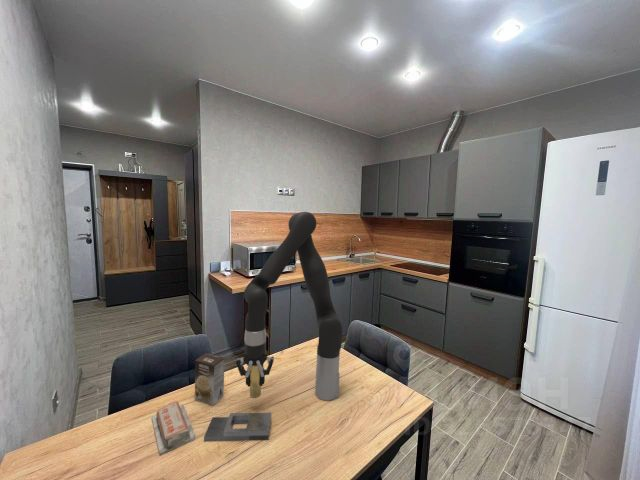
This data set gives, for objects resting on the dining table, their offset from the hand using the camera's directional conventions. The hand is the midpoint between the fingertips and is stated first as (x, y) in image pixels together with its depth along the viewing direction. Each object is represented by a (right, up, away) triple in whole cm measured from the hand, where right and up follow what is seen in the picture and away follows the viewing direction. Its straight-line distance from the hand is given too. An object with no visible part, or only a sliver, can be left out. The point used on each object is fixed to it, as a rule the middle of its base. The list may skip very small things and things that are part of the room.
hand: (255, 384), depth 96 cm
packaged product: (-25, -10, -9) cm, 28 cm away
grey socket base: (-3, -10, -9) cm, 14 cm away
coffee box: (-19, -8, +6) cm, 22 cm away
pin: (0, -4, 0) cm, 4 cm away
